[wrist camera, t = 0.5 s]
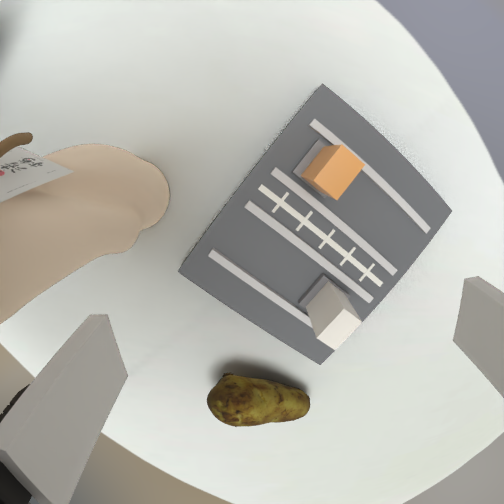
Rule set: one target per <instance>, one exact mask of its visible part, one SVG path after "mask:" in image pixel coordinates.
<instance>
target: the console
mask: <svg viewBox="0 0 504 504" xmlns="http://www.w3.org/2000/svg"><path fill="white" fill-rule="evenodd" d="M316 140H320V141H321V142H322V143H323V144H325V145H326V146H332V145H340V144H342V145H344V146H345V147H346V148H347V149H348V150H349V151H350V152H352V153H353V154H354V155H355V156H356V157H357V158H358V159H359V160H360V161H362V162H363V163H364V164H365V166H364V167H363V168H362V169H361V171H360V172H359V173H358V175H357V176H356V177H355V178H354V180H353V181H352V182H351V184H350V185H349V186H348V187H347V189H346V190H345V191H344V192H343V194H342V195H341V196H340V197H339V199H338V200H335V199H333V198H331V197H330V196H328V195H327V197H326V198H324V197H322V196H321V195H320V194H319V193H317V192H316V191H315V190H314V189H313V188H311V187H310V186H309V185H308V184H306V183H305V182H304V181H303V180H301V179H300V178H299V177H298V176H296V175H295V174H294V173H293V172H292V170H293V169H294V168H295V167H296V165H297V164H298V163H299V162H300V160H301V159H302V158H303V157H304V155H305V154H306V153H307V152H308V150H309V149H310V148H311V147H312V145H313V144H314V143H315V142H316ZM451 212H452V210H451V209H450V208H449V206H448V205H447V204H446V203H445V202H444V200H443V199H442V198H441V197H440V196H439V194H438V193H437V192H436V191H435V190H434V189H433V188H432V186H431V185H430V184H429V183H428V182H427V181H426V180H425V179H424V177H423V176H422V175H421V174H420V173H419V172H418V171H417V170H416V169H415V168H414V167H413V166H412V164H411V163H410V162H409V161H408V160H407V159H406V158H405V157H404V156H403V155H402V154H401V153H400V152H399V151H398V150H397V149H396V148H395V147H394V146H393V145H392V144H391V143H390V142H389V141H388V140H387V139H386V138H385V137H384V136H383V135H382V134H380V133H379V132H378V131H377V130H376V129H375V128H374V127H373V126H372V125H371V124H370V123H369V122H368V121H366V120H365V119H364V118H363V117H362V116H361V115H360V114H359V113H357V112H356V111H355V110H354V109H353V108H352V107H351V106H349V105H348V104H347V103H346V102H345V101H343V100H342V99H341V98H340V97H339V96H337V95H336V94H335V93H334V92H333V91H331V90H330V89H329V88H328V87H326V86H325V85H324V84H322V85H321V86H320V87H319V88H318V89H317V90H316V91H315V93H314V94H313V95H312V96H311V97H310V99H309V100H308V101H307V102H306V103H305V105H304V106H303V107H302V108H301V109H300V111H299V112H298V113H297V114H296V115H295V117H294V118H293V119H292V120H291V122H290V123H289V124H288V125H287V127H286V128H285V129H284V130H283V132H282V133H281V134H280V135H279V137H278V138H277V139H276V140H275V142H274V143H273V144H272V145H271V147H270V148H269V149H268V150H267V152H266V153H265V154H264V155H263V157H262V158H261V159H260V161H259V162H258V163H257V164H256V166H255V167H254V168H253V170H252V171H251V172H250V173H249V175H248V176H247V177H246V179H245V180H244V181H243V183H242V184H241V185H240V186H239V188H238V189H237V190H236V192H235V193H234V194H233V196H232V197H231V198H230V200H229V201H228V202H227V204H226V205H225V206H224V208H223V209H222V210H221V212H220V213H219V214H218V216H217V217H216V218H215V220H214V221H213V223H212V224H211V225H210V227H209V228H208V229H207V231H206V232H205V233H204V235H203V236H202V238H201V239H200V240H199V242H198V243H197V245H196V246H195V247H194V249H193V250H192V251H191V253H190V254H189V256H188V257H187V258H186V260H185V261H184V263H183V264H182V266H181V267H180V269H179V270H178V272H179V273H180V274H182V275H183V276H185V277H186V278H187V279H189V280H190V281H192V282H193V283H195V284H196V285H197V286H199V287H200V288H202V289H203V290H205V291H206V292H208V293H209V294H210V295H212V296H213V297H215V298H216V299H218V300H219V301H221V302H222V303H224V304H225V305H227V306H228V307H230V308H231V309H233V310H234V311H236V312H237V313H239V314H240V315H242V316H243V317H245V318H246V319H248V320H249V321H251V322H252V323H254V324H255V325H257V326H259V327H260V328H262V329H263V330H265V331H266V332H268V333H269V334H271V335H273V336H274V337H276V338H277V339H279V340H280V341H282V342H284V343H285V344H287V345H288V346H290V347H292V348H293V349H295V350H296V351H298V352H300V353H301V354H303V355H305V356H306V357H308V358H309V359H311V360H313V361H314V362H316V363H318V364H319V365H321V364H322V363H323V362H324V361H325V360H326V359H327V358H328V357H329V356H330V355H331V354H332V353H333V352H334V351H335V350H334V349H332V348H331V347H329V346H328V345H326V344H325V343H323V342H322V341H320V340H319V339H317V338H316V335H315V332H314V329H313V326H312V323H311V321H310V318H309V315H308V312H307V310H306V309H305V308H304V307H302V306H301V305H299V303H298V300H299V299H300V298H301V297H302V296H303V294H304V293H305V292H306V291H307V290H308V289H309V288H310V286H311V285H312V284H313V283H314V282H315V281H316V280H317V278H318V277H319V276H320V275H321V274H322V273H323V274H325V275H326V276H327V277H329V278H330V279H331V280H332V281H334V282H335V283H336V284H338V285H339V286H340V287H341V288H343V289H344V290H345V291H347V292H348V293H349V294H350V296H351V297H350V298H349V299H348V300H349V302H350V303H351V305H352V306H353V308H354V310H355V311H356V313H357V314H358V316H359V318H360V319H361V321H362V322H363V321H364V320H365V319H366V317H367V316H368V315H369V314H370V313H371V312H372V311H373V310H374V309H375V308H376V306H377V305H378V304H379V303H380V302H381V301H382V300H383V298H384V297H385V296H386V295H387V294H388V293H389V292H390V290H391V289H392V288H393V287H394V286H395V285H396V283H397V282H398V281H399V280H400V279H401V277H402V276H403V275H404V274H405V273H406V271H407V270H408V269H409V268H410V266H411V265H412V264H413V263H414V261H415V260H416V259H417V258H418V256H419V255H420V254H421V252H422V251H423V250H424V249H425V247H426V246H427V245H428V243H429V242H430V241H431V239H432V238H433V237H434V235H435V234H436V233H437V231H438V230H439V229H440V227H441V226H442V225H443V223H444V222H445V220H446V219H447V218H448V216H449V215H450V213H451Z"/></svg>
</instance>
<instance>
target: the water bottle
mask: <svg viewBox="0 0 504 504" xmlns="http://www.w3.org/2000/svg"><path fill="white" fill-rule="evenodd" d="M32 139H33V136H32V134H31V133H29V132H27V133H18V134H14V135H12V136H9V137H8V138H6V139H4V140H3V141H1V142H0V324H1V323H3V322H4V321H6V320H7V319H8V318H10V317H11V316H13V315H14V314H15V313H16V312H17V311H19V310H20V309H21V308H22V307H23V306H25V305H26V304H27V303H29V302H30V301H31V300H33V299H34V298H35V297H37V296H38V295H40V294H41V293H43V292H44V291H45V290H47V289H48V288H50V287H51V286H53V285H54V284H56V283H57V282H59V281H60V280H62V279H64V278H65V277H67V276H68V275H70V274H71V273H73V272H74V271H76V270H78V269H79V268H81V267H82V266H84V265H86V264H87V263H89V262H91V261H92V260H94V259H96V258H98V257H100V256H103V255H107V254H117V253H122V252H125V251H127V250H129V249H130V248H131V247H132V246H133V245H134V243H135V242H136V240H137V238H138V236H139V233H140V231H141V230H144V229H146V228H149V227H151V226H153V225H154V224H156V223H157V222H158V221H159V220H160V219H161V218H162V216H163V215H164V213H165V211H166V209H167V207H168V204H169V198H170V192H169V186H168V183H167V181H166V179H165V177H164V175H163V173H162V172H161V171H160V170H159V169H158V168H157V167H156V166H155V165H153V164H152V163H149V162H147V161H144V160H142V159H140V158H139V157H137V156H136V155H134V154H132V153H130V152H128V151H126V150H123V149H120V148H117V147H113V146H109V145H102V144H82V145H76V146H72V147H68V148H65V149H62V150H59V151H56V152H53V153H51V154H48V155H46V156H43V157H40V156H38V155H36V154H34V153H31V152H29V151H27V150H25V149H22V148H20V147H17V146H20V145H25V144H29V143H30V142H31V141H32Z"/></svg>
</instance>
